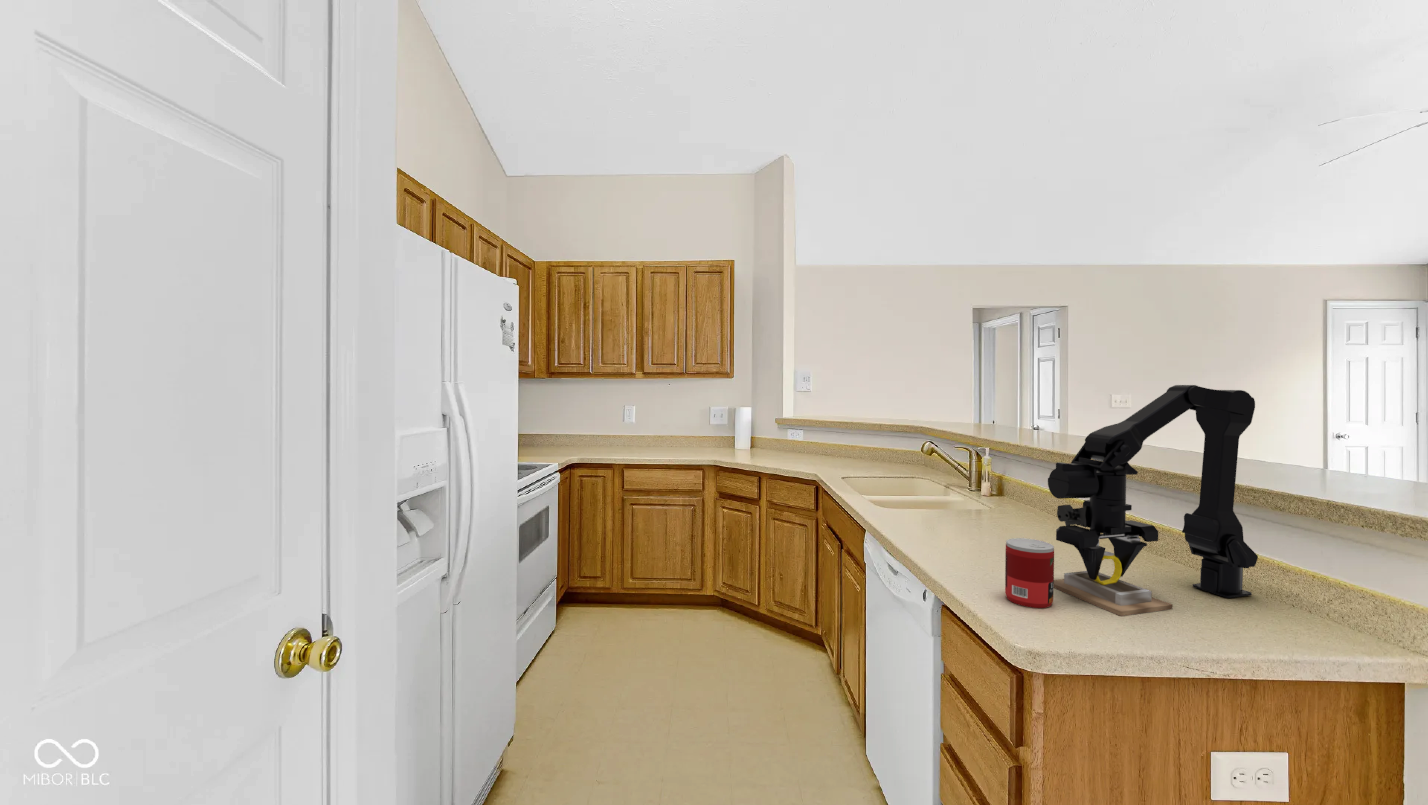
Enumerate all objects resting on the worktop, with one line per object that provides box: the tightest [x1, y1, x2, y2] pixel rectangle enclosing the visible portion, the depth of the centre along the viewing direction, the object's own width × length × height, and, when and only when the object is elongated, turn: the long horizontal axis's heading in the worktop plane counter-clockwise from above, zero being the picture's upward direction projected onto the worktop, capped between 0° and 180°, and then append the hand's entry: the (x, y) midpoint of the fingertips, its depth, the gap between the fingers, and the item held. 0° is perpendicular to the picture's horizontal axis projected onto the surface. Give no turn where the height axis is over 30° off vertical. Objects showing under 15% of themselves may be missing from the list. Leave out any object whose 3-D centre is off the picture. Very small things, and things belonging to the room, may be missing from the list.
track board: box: [1054, 570, 1173, 617], centre depth 108 cm, size 12×16×3 cm
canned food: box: [1004, 537, 1055, 609], centre depth 106 cm, size 8×8×11 cm
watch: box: [1094, 550, 1122, 585], centre depth 107 cm, size 6×3×6 cm, turn 102°
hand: (1106, 577), depth 108 cm, fingers closed on watch, 6 cm apart
